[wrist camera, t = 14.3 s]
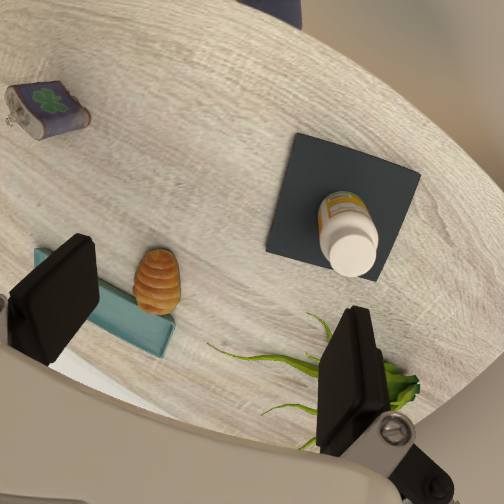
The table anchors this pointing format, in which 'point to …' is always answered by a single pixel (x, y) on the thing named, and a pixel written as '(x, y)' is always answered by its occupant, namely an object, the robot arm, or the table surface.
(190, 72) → the table surface
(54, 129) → the flask
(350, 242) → the supplement bottle
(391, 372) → the decorative plant
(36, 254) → the teal serving tray
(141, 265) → the pastry
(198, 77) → the table surface
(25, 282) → the robot arm
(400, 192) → the mat
